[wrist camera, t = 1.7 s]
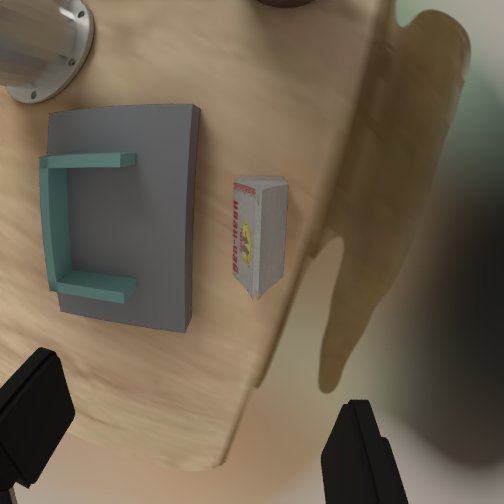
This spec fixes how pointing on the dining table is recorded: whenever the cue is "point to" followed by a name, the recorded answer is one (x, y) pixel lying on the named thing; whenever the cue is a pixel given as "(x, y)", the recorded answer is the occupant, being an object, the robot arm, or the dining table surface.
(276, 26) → the dining table surface
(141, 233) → the dock
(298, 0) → the plant pot
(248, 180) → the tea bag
